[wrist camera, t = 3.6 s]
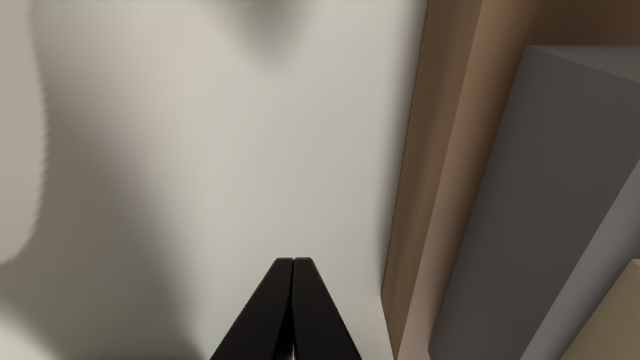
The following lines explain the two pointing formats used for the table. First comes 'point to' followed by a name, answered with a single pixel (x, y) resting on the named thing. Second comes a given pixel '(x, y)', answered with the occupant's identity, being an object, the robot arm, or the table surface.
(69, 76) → the table surface
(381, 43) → the table surface
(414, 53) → the table surface
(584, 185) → the grey and beige block
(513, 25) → the board
